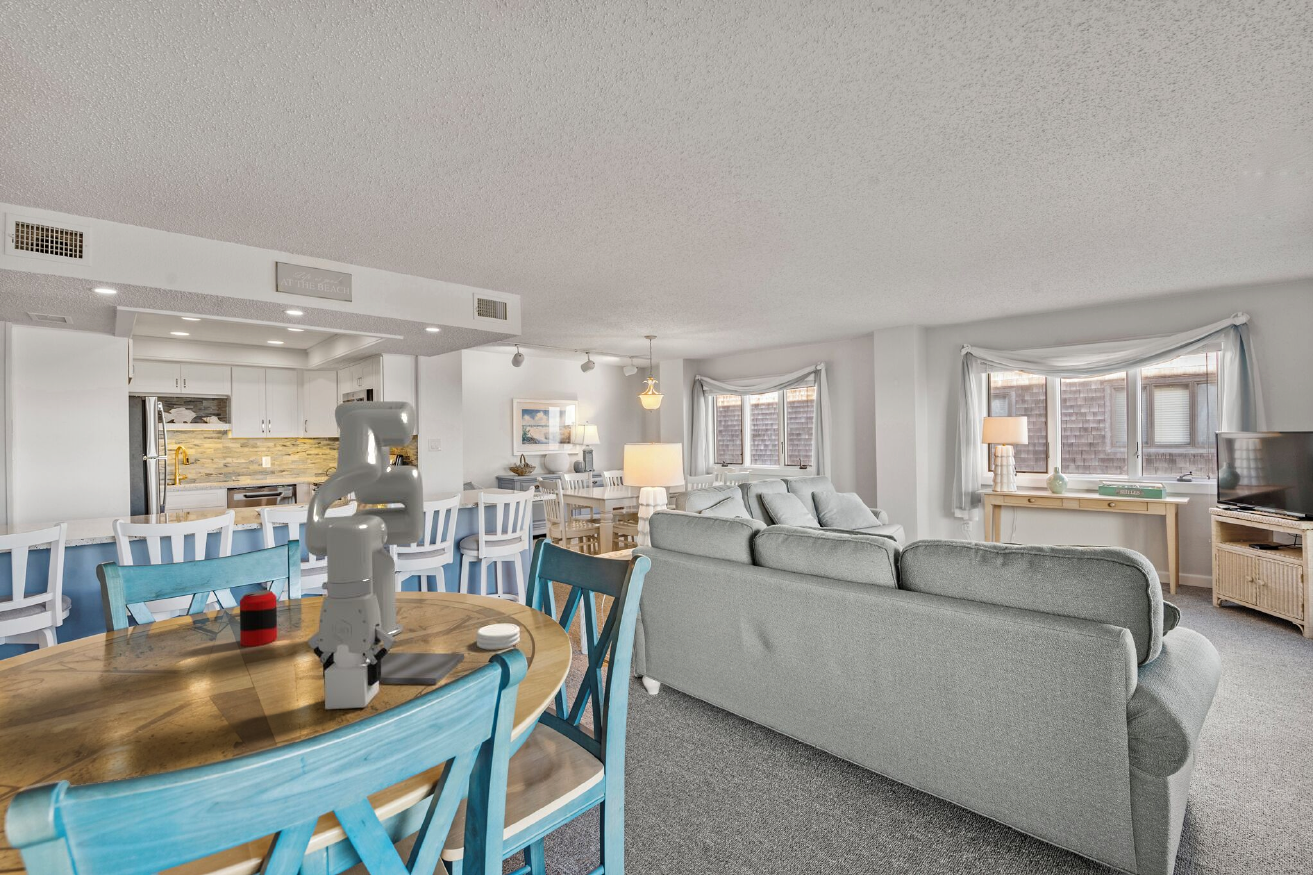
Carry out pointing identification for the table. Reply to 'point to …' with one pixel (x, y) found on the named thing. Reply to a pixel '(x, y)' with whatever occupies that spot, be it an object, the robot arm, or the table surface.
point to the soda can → (258, 618)
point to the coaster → (498, 636)
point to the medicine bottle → (348, 681)
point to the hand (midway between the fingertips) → (352, 681)
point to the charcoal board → (417, 667)
